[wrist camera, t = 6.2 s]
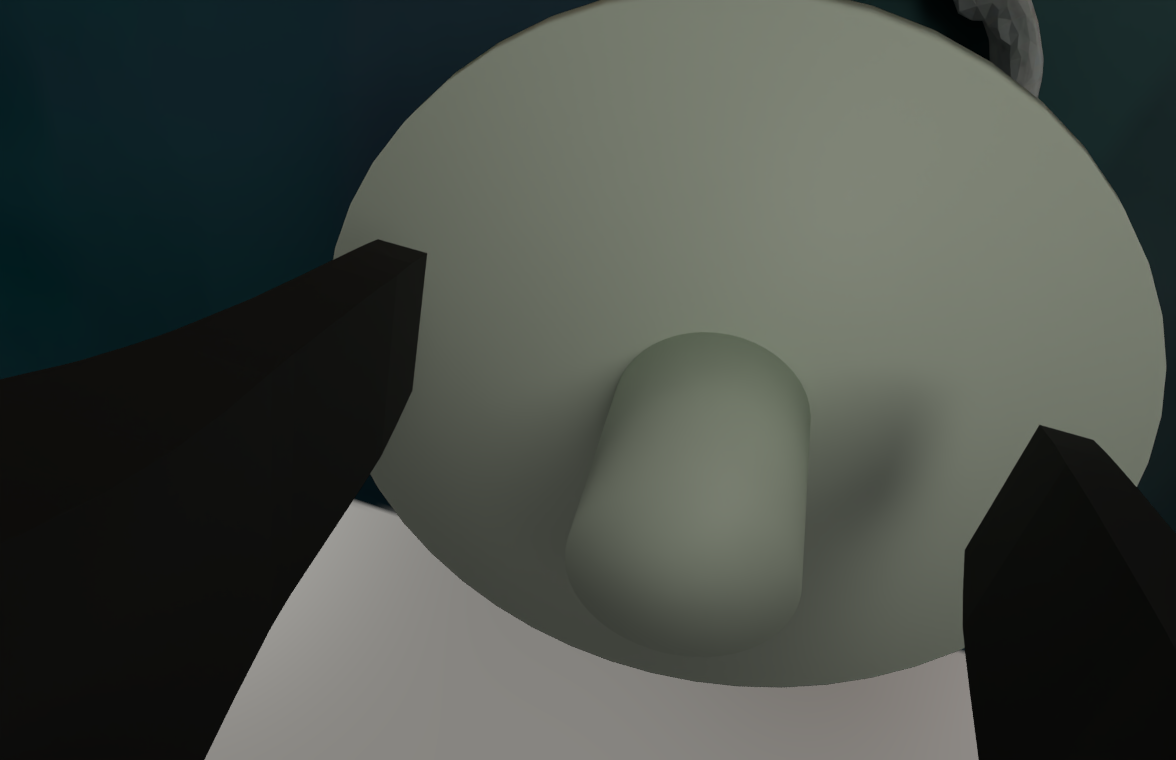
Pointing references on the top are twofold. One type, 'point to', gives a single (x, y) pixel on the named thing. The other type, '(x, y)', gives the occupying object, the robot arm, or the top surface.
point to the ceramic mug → (1010, 37)
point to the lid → (746, 329)
